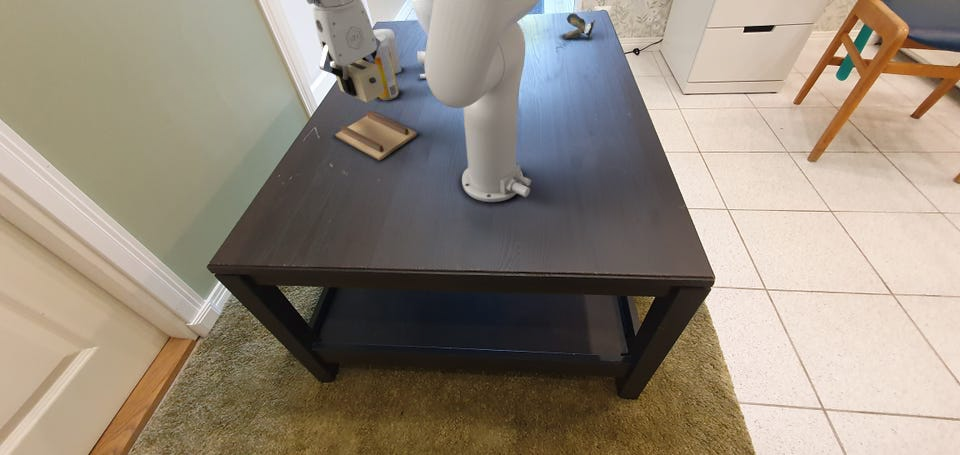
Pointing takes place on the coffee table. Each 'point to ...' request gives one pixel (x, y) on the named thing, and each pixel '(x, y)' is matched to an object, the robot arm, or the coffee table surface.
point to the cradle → (376, 135)
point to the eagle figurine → (578, 26)
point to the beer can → (386, 69)
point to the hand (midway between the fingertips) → (361, 87)
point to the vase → (423, 13)
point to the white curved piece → (391, 47)
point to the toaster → (364, 80)
